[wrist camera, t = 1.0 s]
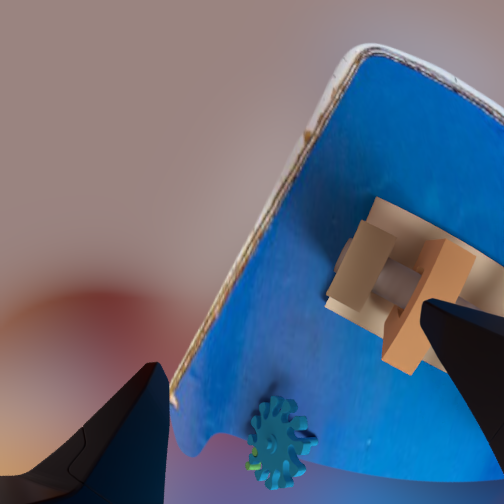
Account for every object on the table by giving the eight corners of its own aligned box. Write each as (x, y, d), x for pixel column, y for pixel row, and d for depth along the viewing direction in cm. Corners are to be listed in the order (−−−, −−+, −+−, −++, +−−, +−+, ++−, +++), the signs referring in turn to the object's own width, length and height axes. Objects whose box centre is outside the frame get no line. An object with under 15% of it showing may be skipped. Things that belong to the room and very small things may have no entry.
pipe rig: (567, 316, 13) (604, 335, 6) (516, 406, 15) (538, 445, 8) (376, 198, 22) (372, 179, 15) (327, 304, 24) (303, 326, 18)
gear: (279, 375, 25) (309, 472, 16) (328, 379, 27) (362, 461, 18) (233, 426, 29) (247, 502, 20) (276, 428, 31) (295, 496, 22)
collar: (447, 252, 18) (476, 256, 11) (405, 334, 19) (411, 375, 12) (425, 240, 18) (446, 238, 12) (384, 322, 20) (381, 359, 13)
